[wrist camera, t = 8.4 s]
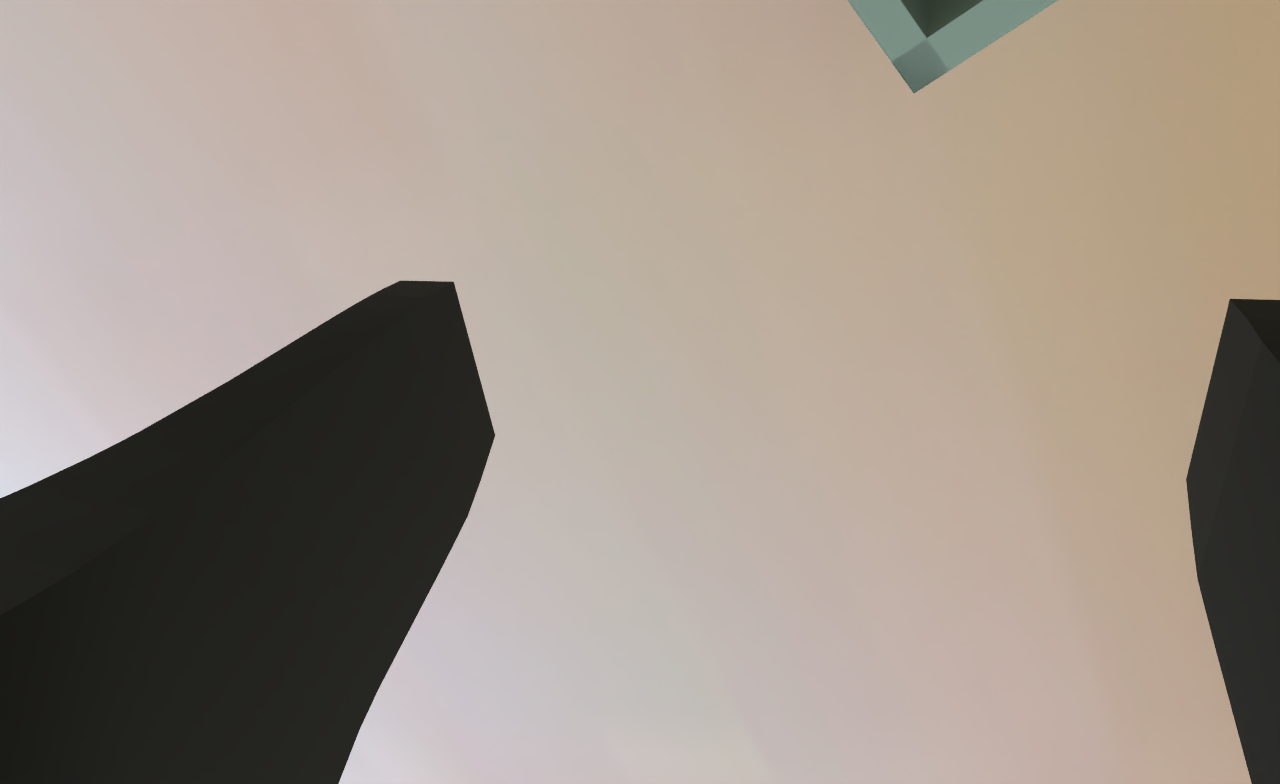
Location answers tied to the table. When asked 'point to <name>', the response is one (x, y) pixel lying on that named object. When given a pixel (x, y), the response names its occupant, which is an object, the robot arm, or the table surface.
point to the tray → (939, 31)
